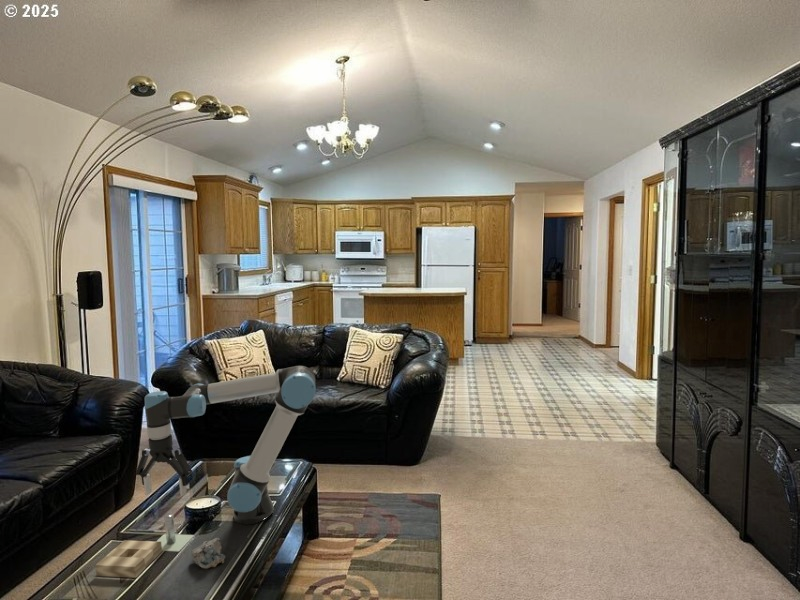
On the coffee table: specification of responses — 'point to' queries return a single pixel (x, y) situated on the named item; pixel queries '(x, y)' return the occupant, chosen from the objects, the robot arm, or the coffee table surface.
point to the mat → (179, 543)
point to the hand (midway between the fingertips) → (166, 493)
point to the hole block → (128, 558)
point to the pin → (169, 529)
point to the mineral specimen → (208, 554)
